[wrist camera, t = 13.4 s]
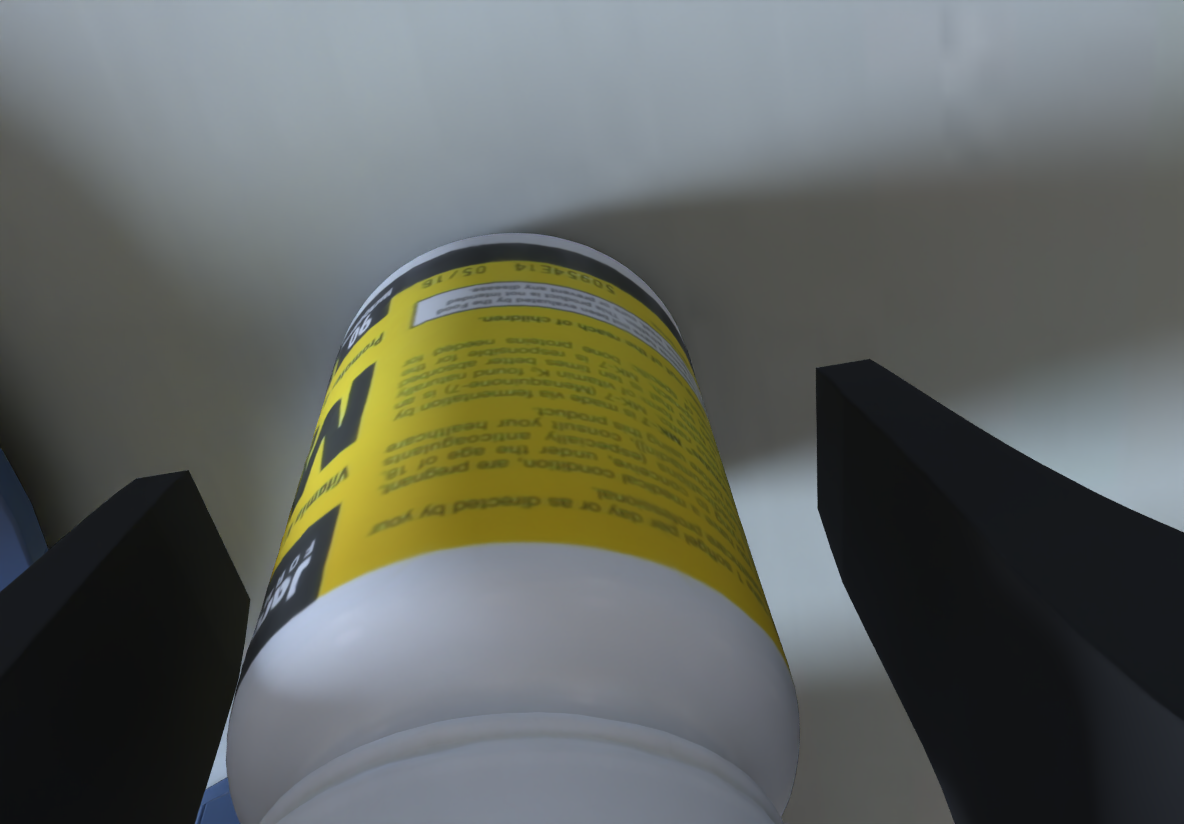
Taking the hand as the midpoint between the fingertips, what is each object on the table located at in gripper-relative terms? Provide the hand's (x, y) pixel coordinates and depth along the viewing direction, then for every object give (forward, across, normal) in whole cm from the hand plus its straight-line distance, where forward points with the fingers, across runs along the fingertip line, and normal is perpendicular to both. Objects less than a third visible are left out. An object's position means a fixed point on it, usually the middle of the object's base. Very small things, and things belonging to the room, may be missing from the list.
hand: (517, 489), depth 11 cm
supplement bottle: (+2, 0, 0) cm, 2 cm away
